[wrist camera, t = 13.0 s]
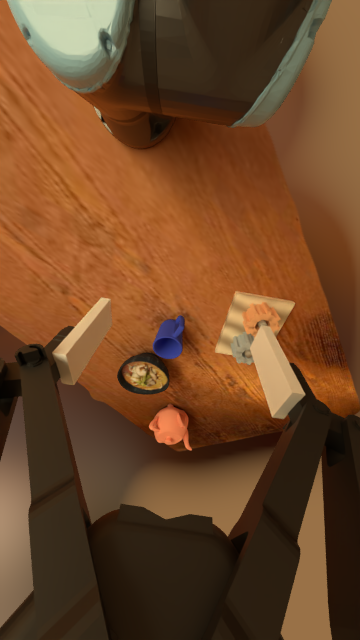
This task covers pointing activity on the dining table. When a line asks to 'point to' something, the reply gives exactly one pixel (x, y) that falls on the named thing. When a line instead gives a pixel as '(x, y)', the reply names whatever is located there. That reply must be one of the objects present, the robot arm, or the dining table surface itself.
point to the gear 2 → (260, 318)
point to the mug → (169, 338)
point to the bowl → (144, 374)
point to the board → (235, 319)
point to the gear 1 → (242, 347)
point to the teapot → (171, 426)
